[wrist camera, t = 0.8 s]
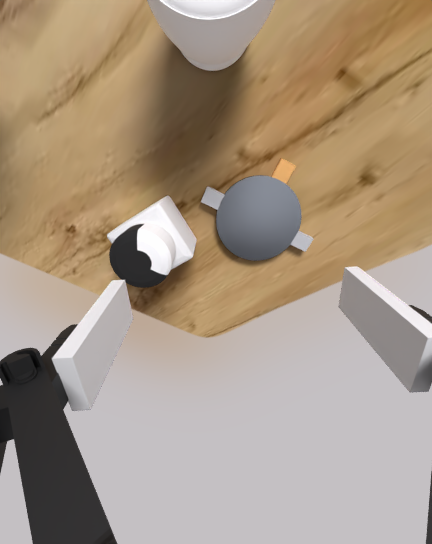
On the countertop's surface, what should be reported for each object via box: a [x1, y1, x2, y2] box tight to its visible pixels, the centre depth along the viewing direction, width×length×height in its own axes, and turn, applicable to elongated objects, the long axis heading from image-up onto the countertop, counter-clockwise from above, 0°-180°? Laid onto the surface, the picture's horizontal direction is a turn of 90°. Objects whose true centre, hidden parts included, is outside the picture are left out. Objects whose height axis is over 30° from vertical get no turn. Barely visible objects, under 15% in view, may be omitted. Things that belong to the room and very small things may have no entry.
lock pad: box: [201, 158, 313, 260], centre depth 35 cm, size 16×13×1 cm
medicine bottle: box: [107, 195, 197, 288], centre depth 31 cm, size 7×7×12 cm
